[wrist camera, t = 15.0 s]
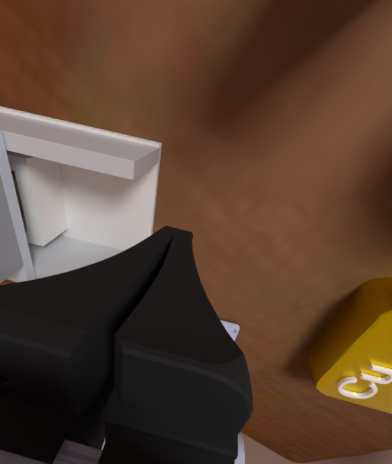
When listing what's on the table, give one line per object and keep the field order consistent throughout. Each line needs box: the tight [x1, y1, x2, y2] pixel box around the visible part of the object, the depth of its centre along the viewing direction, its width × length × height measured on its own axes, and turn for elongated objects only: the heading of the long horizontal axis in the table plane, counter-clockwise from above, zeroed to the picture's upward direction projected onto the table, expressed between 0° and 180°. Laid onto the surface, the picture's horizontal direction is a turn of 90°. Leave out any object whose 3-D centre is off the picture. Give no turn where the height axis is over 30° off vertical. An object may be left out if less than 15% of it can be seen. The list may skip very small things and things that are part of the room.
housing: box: [0, 106, 162, 279], centre depth 20 cm, size 13×18×6 cm
